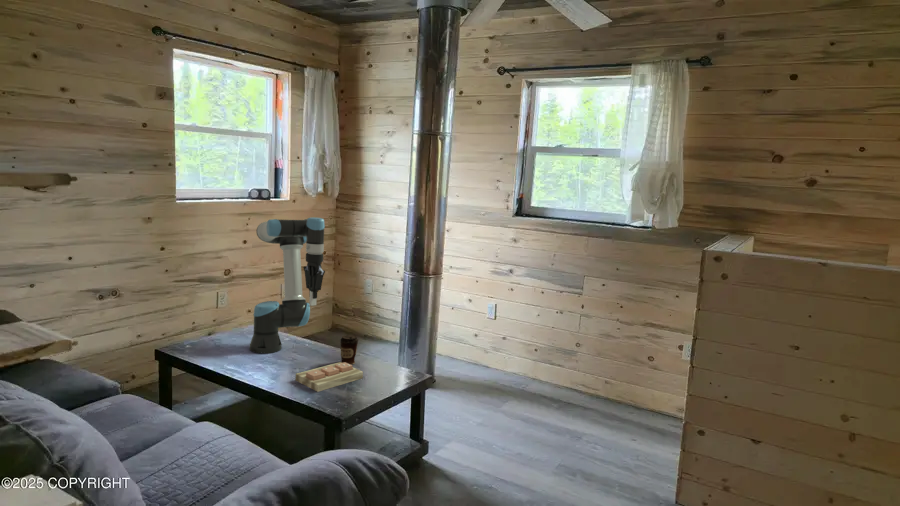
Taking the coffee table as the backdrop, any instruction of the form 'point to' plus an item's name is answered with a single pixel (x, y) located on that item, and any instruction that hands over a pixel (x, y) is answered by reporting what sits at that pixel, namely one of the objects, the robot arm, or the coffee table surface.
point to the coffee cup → (348, 349)
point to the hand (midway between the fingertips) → (312, 305)
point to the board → (329, 378)
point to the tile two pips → (330, 371)
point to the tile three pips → (344, 367)
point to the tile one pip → (315, 375)
